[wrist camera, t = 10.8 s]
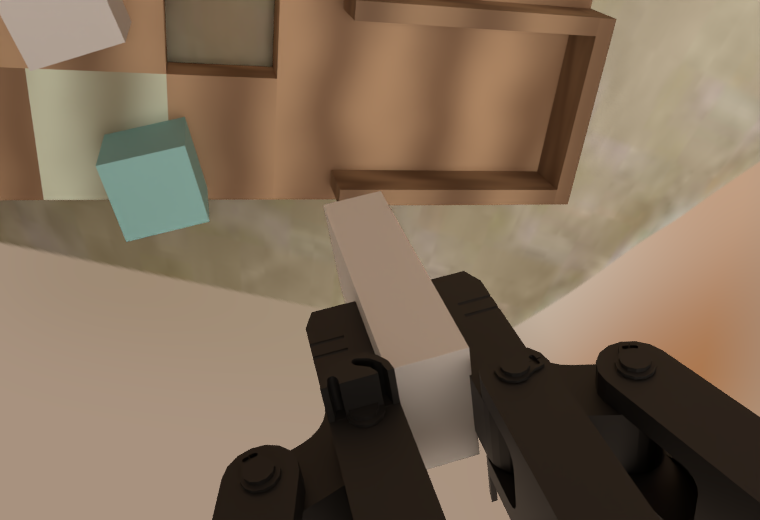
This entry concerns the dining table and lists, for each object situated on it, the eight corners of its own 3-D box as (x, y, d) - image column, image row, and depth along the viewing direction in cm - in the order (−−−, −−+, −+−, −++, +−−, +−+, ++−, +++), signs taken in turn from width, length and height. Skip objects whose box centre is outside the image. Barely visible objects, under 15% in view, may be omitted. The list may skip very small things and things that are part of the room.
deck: (4, 182, 41) (-18, 224, 36) (-40, -80, 34) (-75, -68, 30) (528, 183, 50) (564, 218, 45) (576, -25, 43) (623, -10, 38)
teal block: (131, 205, 41) (126, 241, 37) (104, 134, 39) (95, 166, 35) (207, 187, 42) (209, 221, 38) (184, 116, 39) (184, 145, 35)
